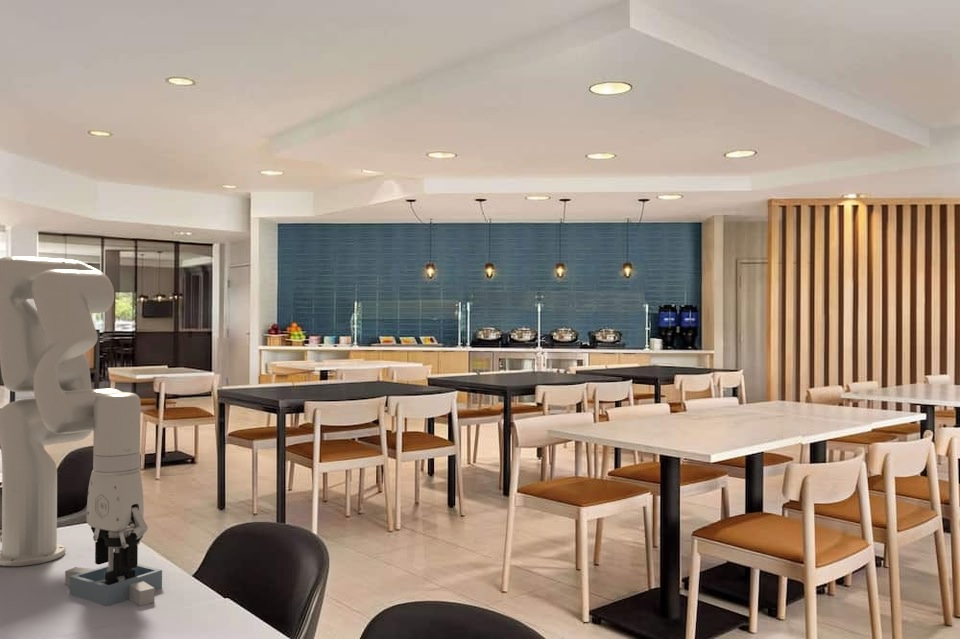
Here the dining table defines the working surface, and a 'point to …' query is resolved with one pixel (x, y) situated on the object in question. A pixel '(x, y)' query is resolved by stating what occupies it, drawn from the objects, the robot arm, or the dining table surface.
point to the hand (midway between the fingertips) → (116, 564)
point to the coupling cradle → (114, 585)
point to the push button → (115, 560)
